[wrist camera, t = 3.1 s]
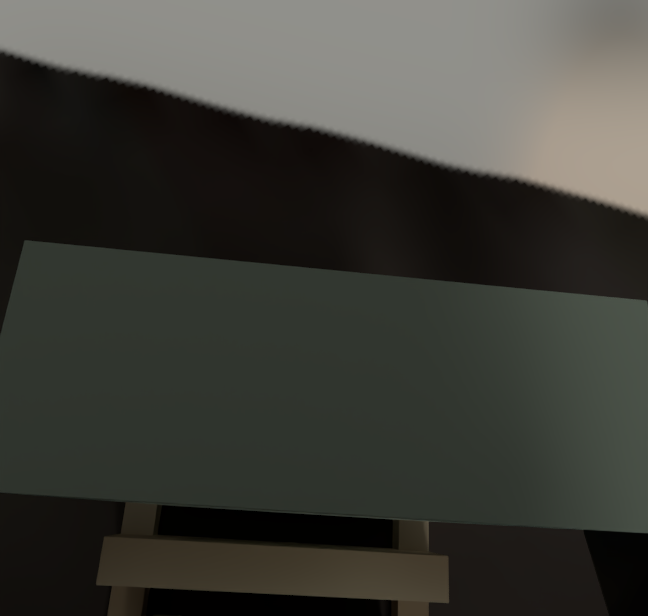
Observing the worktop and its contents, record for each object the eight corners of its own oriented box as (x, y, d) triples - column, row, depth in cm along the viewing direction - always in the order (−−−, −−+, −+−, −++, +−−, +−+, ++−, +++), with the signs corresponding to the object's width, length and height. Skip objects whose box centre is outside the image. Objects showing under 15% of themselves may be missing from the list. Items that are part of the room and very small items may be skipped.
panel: (376, 518, 16) (679, 534, 5) (178, 506, 16) (-39, 490, 4) (379, 446, 17) (646, 300, 5) (188, 432, 17) (24, 241, 5)
